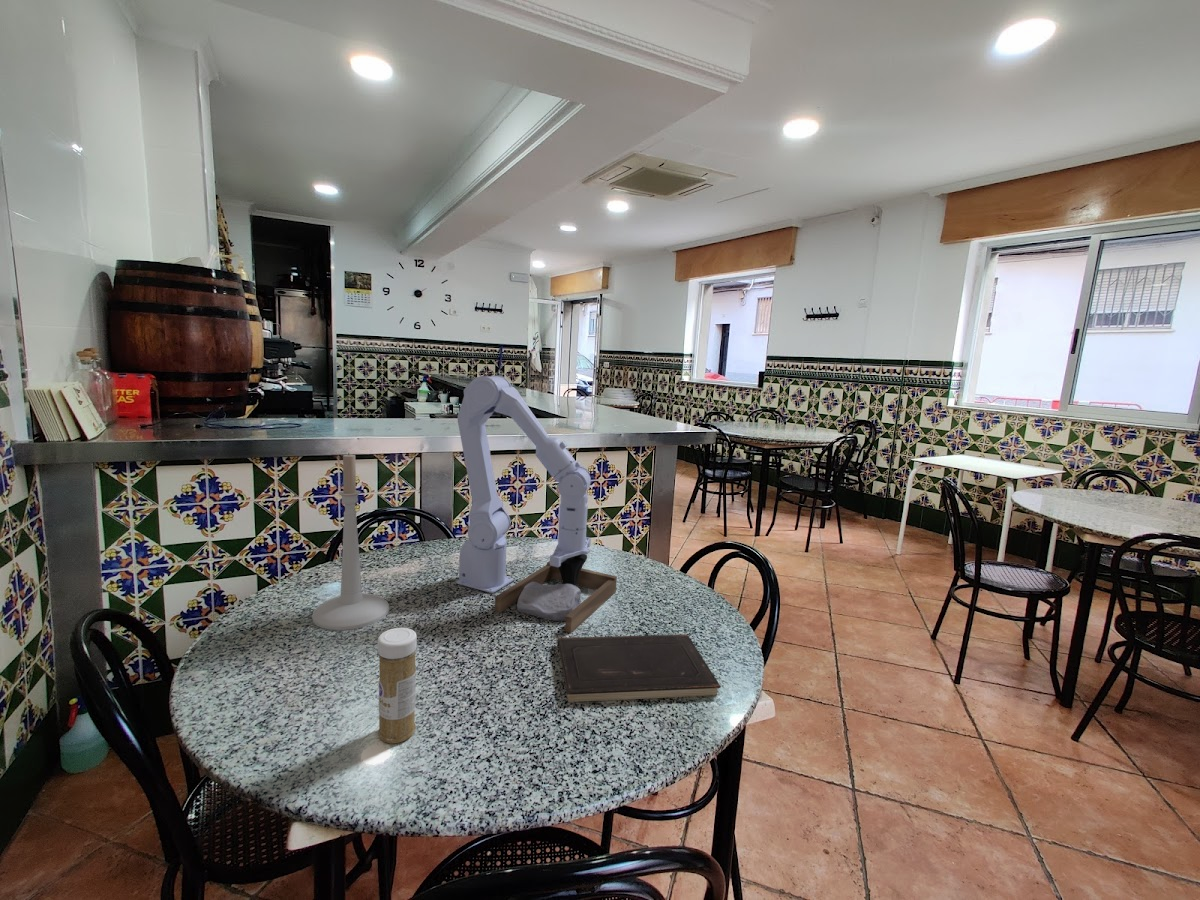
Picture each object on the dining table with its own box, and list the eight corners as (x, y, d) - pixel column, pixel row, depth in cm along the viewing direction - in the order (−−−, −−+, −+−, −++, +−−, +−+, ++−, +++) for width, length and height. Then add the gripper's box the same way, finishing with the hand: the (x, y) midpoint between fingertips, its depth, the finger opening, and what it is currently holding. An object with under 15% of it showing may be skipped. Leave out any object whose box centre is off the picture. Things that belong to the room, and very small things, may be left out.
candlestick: (388, 625, 96) (387, 459, 91) (307, 634, 92) (301, 459, 87) (389, 595, 108) (389, 446, 103) (317, 601, 103) (313, 446, 99)
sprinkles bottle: (371, 733, 69) (370, 634, 67) (404, 716, 72) (404, 622, 70) (390, 750, 66) (389, 648, 64) (423, 732, 69) (424, 635, 67)
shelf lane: (494, 611, 104) (495, 594, 103) (548, 575, 122) (549, 560, 122) (570, 633, 97) (571, 615, 96) (615, 591, 116) (616, 576, 115)
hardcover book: (719, 699, 81) (720, 685, 81) (566, 707, 77) (567, 692, 77) (685, 644, 97) (686, 632, 96) (556, 648, 93) (557, 635, 92)
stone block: (574, 632, 102) (582, 599, 111) (574, 611, 100) (582, 579, 109) (512, 627, 103) (525, 596, 112) (511, 606, 101) (524, 576, 110)
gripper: (573, 539, 103) (570, 606, 105) (604, 521, 116) (601, 580, 118) (541, 532, 106) (538, 597, 108) (575, 515, 119) (572, 574, 121)
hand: (569, 588), depth 114 cm, fingers closed
